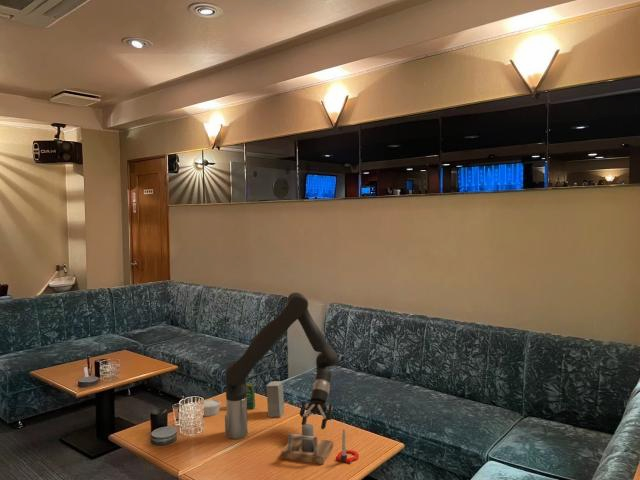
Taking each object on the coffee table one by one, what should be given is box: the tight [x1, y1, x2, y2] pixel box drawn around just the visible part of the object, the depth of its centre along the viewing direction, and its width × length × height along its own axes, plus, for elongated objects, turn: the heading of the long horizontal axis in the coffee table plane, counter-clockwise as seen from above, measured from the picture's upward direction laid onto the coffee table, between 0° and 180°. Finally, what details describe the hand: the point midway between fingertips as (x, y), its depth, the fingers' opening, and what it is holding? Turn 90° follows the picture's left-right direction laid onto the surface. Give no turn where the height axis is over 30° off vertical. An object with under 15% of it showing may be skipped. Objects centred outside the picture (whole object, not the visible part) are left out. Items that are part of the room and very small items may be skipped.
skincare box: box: [265, 380, 285, 418], centre depth 233 cm, size 8×7×16 cm
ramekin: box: [203, 398, 221, 417], centre depth 236 cm, size 11×11×5 cm
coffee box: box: [246, 382, 256, 410], centre depth 242 cm, size 8×3×13 cm, turn 72°
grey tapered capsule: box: [301, 423, 315, 453], centre depth 192 cm, size 5×5×11 cm
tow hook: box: [335, 428, 360, 464], centre depth 188 cm, size 8×13×9 cm
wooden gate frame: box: [281, 433, 334, 465], centre depth 191 cm, size 18×14×10 cm
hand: (312, 427), depth 198 cm, fingers open, 8 cm apart
